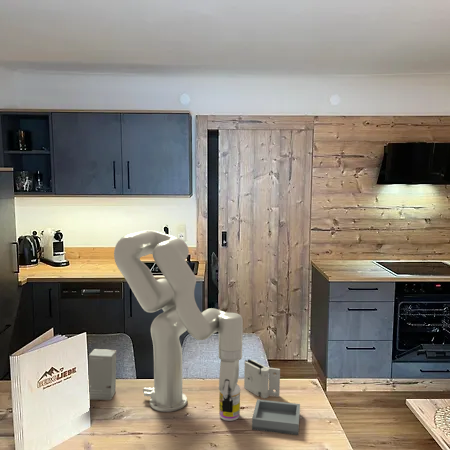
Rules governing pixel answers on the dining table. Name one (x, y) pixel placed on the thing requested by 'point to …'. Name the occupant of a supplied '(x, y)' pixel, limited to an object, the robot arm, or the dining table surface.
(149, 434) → the dining table surface
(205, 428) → the dining table surface
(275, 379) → the hinge
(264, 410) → the parts tray
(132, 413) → the dining table surface
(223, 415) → the supplement bottle
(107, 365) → the skincare box
